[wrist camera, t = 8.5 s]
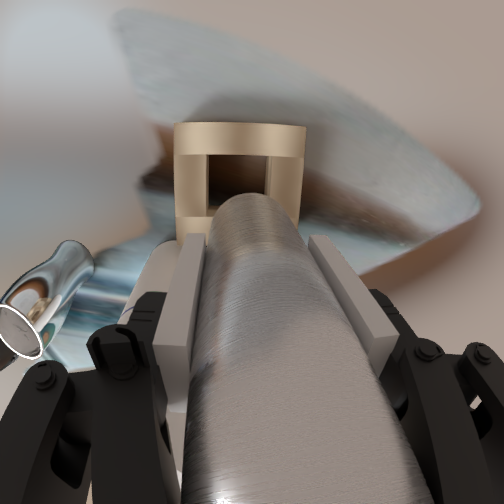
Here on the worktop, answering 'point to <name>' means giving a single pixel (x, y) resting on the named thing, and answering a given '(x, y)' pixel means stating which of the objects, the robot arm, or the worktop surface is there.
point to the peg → (284, 380)
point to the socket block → (233, 143)
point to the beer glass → (43, 299)
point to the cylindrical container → (150, 280)
